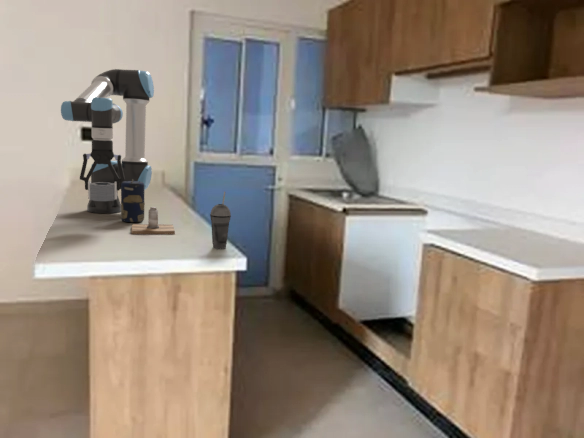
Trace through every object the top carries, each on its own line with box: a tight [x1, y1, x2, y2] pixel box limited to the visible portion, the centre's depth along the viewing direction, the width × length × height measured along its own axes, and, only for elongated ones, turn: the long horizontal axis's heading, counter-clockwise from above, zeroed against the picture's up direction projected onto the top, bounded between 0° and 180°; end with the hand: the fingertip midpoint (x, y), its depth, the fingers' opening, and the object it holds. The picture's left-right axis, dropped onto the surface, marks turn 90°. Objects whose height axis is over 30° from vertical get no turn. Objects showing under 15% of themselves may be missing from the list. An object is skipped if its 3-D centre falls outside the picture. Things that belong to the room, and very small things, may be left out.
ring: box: [90, 182, 115, 201], centre depth 209 cm, size 9×9×6 cm
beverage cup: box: [209, 191, 232, 250], centre depth 190 cm, size 7×7×20 cm
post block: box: [131, 206, 176, 235], centre depth 215 cm, size 14×16×9 cm
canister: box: [120, 179, 146, 223], centre depth 231 cm, size 10×10×18 cm
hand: (102, 198), depth 210 cm, fingers closed on ring, 9 cm apart
